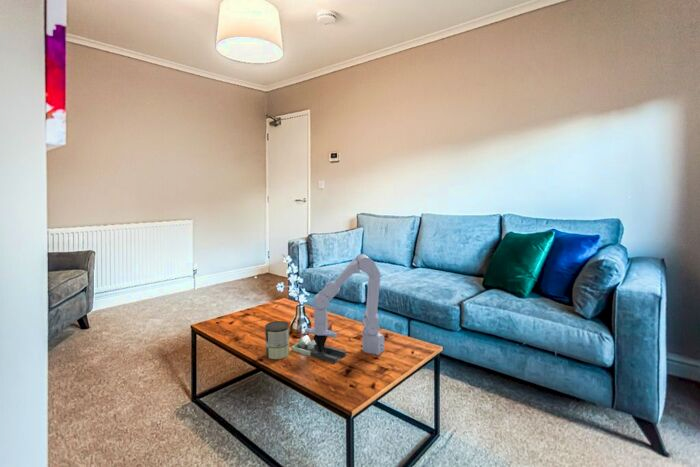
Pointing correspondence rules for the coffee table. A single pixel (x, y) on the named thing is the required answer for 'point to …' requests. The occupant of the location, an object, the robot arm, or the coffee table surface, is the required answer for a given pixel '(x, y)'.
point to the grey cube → (312, 346)
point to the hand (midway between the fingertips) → (320, 350)
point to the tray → (300, 350)
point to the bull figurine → (329, 326)
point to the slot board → (329, 354)
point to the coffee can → (277, 339)
